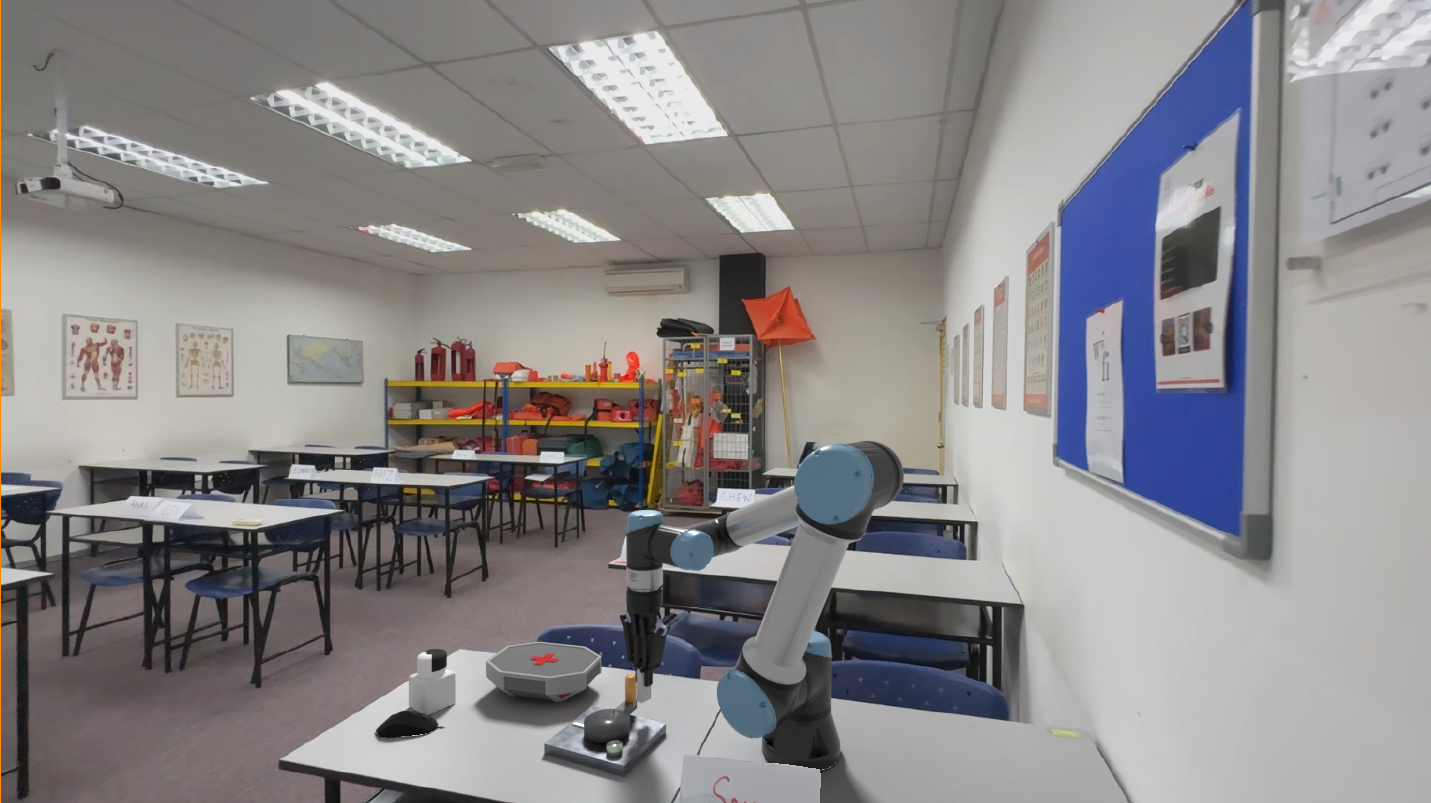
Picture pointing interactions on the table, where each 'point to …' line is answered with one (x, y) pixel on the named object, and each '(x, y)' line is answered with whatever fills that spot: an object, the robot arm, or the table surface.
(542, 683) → the first aid kit
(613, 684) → the table surface
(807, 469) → the robot arm
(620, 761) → the base
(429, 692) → the medicine bottle
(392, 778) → the table surface
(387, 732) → the gaming mouse
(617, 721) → the domed crank handle
